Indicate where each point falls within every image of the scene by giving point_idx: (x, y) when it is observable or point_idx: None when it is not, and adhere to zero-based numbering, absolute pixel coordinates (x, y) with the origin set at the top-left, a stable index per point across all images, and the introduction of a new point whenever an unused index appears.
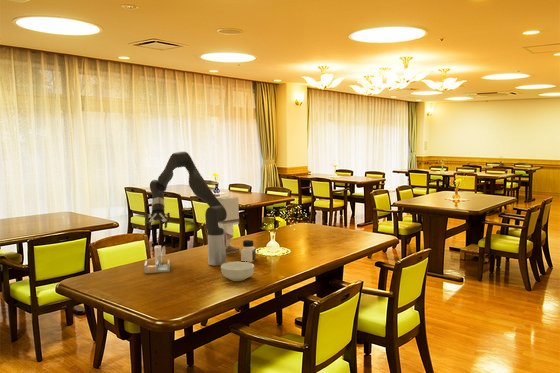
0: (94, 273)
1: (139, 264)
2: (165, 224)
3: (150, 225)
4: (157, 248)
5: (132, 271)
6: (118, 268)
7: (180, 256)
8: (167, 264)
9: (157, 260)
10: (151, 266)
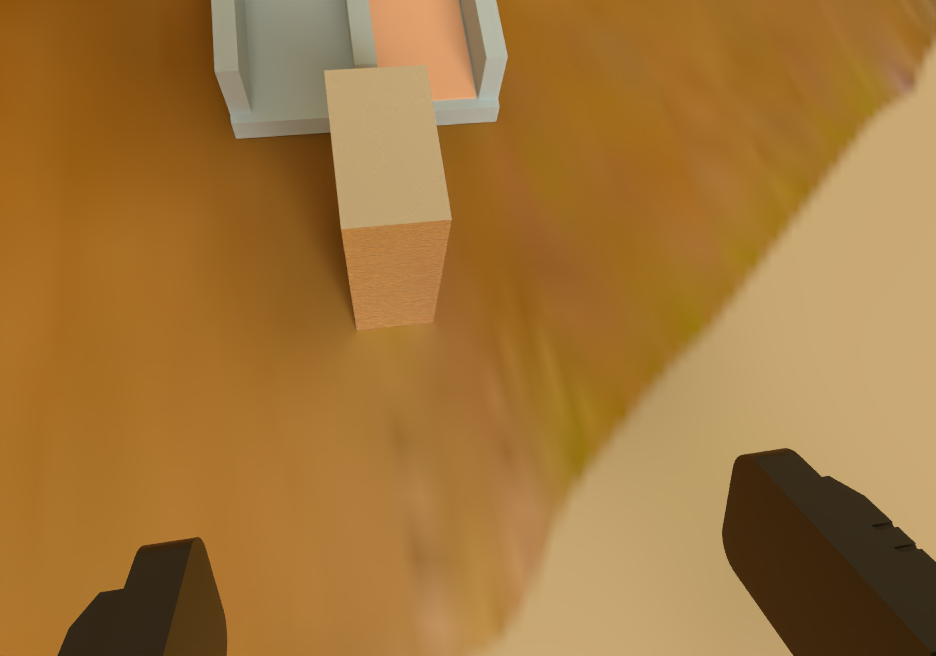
0: (910, 31)
1: (605, 267)
2: (126, 633)
3: (813, 493)
4: (378, 73)
5: (595, 30)
6: (771, 148)
7: None
8: (257, 118)
9: (363, 41)
10: (428, 62)
